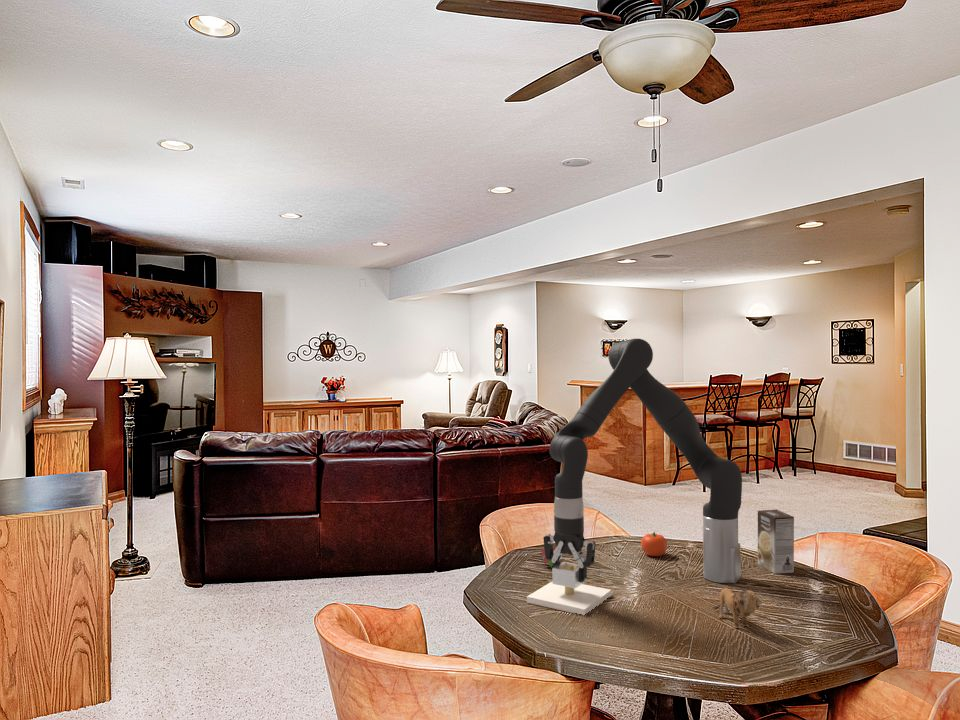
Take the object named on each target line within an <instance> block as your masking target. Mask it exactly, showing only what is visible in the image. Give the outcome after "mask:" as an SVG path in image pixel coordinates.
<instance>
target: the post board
mask: <svg viewBox="0 0 960 720" xmlns="http://www.w3.org/2000/svg"><path fill="white" fill-rule="evenodd" d="M565 569H567V570H572V571H574V565H570V564H567V565H565ZM608 597H609V598H610V597H612V589H609V588H604V587H599V586H594V585H590V584H585V583H583V584H581V585H580V586H578V587H577V588H571V587H566V586H561V585H556V584H553V580H552V581H550V582H549V583H546V584H545V585H544V586H542V587H540V588H538V589H537V590H535V591H534V592H532V593H530V594H529V595H527V596H526V603H528V604H532V605H536V606H541V607H544V608H550V609H554V610H558V611H563V612H567V613H570V614H575V613H577V614H576V615H579V614H582V615H581V616H584V615H585V614H586V613H588V612H589V611H590V612H592V611H593V610H595V607H596V606H597V607H598V606H600V605H601V604H602V603H603V601H604V600H605V601H606V600H608V599H609V598H608ZM607 598H608V599H607ZM605 601H604V602H605ZM600 603H601V604H600ZM599 604H600V605H599ZM597 607H596V608H597ZM592 609H593V610H592ZM591 610H592V611H591ZM590 612H589V613H590ZM589 613H588V614H589ZM586 615H587V614H586ZM586 615H585V616H586Z"/></svg>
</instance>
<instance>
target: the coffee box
mask: <svg viewBox="0 0 960 720" xmlns="http://www.w3.org/2000/svg"><path fill="white" fill-rule="evenodd" d="M794 546H795V517H794V516H793V515H791V514H788V513H787V512H786V513H785V512H783V511H781V510H778V509H764V510H763V509H762V510H757V565H759V566H760V567H762V568H764V569H766V570H767V571H769V572H771V573H773V574H789V573H794V572H795V571H794V570H795V565H794V564H795V561H794V560H795V547H794Z"/></svg>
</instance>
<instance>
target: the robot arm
mask: <svg viewBox="0 0 960 720" xmlns="http://www.w3.org/2000/svg"><path fill="white" fill-rule="evenodd" d="M607 355H608V356H607V357H608V361H609V362H608V363H609V365H610V366H611V369H613V371H612V372H611V373H610V375H608V377H607V378H606V379H605V380H604V381H603V382H602V383H601V384H600V385H599V386H598V387H597V388H596V389H594V390H593V392H591V394H589V396H588V397H587V398H586V399H585V400H584V402H583V403H582V404H581V406H580V408H579V409H578V410H577V412H576V413H575V415H574V416H573V418H572V419H571V420H570V421H568V422H567V423H566V424H565V425H564V426H563V427H562V428H561V429H559V430H558V432H557V433H556V434H555V435H554V436H553V438H552V440H551V441H550V445H549V451H548V452H549V455H550V457H551V458H552V459H553V460H554V461H556V462H559V463H563V467H562V468H563V469H562V472H559V473H557V474H556V475H555V477H554V500H553V501H554V502H553V514H554V515H553V517H554V518H553V520H554V521H553V527H554V528H553V530H554V535H552V534H550V533H549V534H547V535H545V536H543V545H544V546H543V549H545V558H546V559H547V560H548V559H549V560H551V561H552V563H553V567H552V568H554V567H555V566H557V565H559V564H561V563H562V561H561V560H560V558H561V556H562V557H563V555H565V554H567V555H570V556H573V558H574V560H575V561H576V563H577V564H578V565H579V582H581V583H582V582H584V581H585V579H586V580H587V578H588V575H587V574H588V568H589V567H591V566H592V565H594V563H595V557H596V547H597V546H596V542H595V540H591V541H589V540H586V539H585V537H584V536H585V535H584V532H585V518H584V517H585V514H584V513H585V512H584V507H585V506H584V499H583V498H584V497H583V492H584V491H583V479H584V476H585V472H586V468H587V464H588V458H589V452H588V447H587V444H586V442H585V440H584V439H587V438H592V437H593V436H595V434H597V433H598V431H599V430H600V428H601V427H602V425H603V423H604V422H605V421H606V419H607V418H608V416H609V415H610V413H611V412H612V410H614V408H615V407H616V405H617V403H618V402H619V401H620V400H621V398H622V397H623V396H624V394H625V393H627V391H628V390H629V388H630V389H631V391H633V393H634V394H635V395H636V396H637V398H638V399H639V400H640V401H641V403H642V405H643V406H644V407H645V408H646V409H647V411H648V412H649V413H650V414H651V416H652V417H653V419H654V420H655V422H656V423H657V424H658V426H659V427H660V428H661V429H662V431H663V432H664V433H665V434H666V436H667V437H668V438H669V439H670V441H671V442H672V443H673V444H674V446H675V447H676V448H677V449H678V450H679V452H680V453H681V454H682V455H683V456H684V457H685V460H687V463H688V464H689V465H690V467H691V469H692V470H693V472H694V474H695V476H696V477H697V479H698V480H699V482H700V483H701V484H702V485H703V486H704V487H706V488H707V489H709V490H710V494H709V495H710V496H709V501H708V502H706V503H704V504H703V506H702V553H703V554H702V555H703V556H702V559H703V561H702V564H703V565H702V566H703V567H702V570H703V575H702V576H703V577H704V579H705V580H708V581H711V582H714V583H722V584H723V583H724V584H736V583H737V582H738V581H739V580H740V579H741V577H742V575H741V569H742V568H741V543H740V542H739V511H740V509H741V506H742V505H741V504H742V494H743V491H742V490H743V477H742V470H741V469H740V466H739V465H738V464H737V463H736V462H734V461H733V460H729V459H726V458H722V457H720V456H718V455H717V454H716V452H715V451H713V450H712V448H711V447H710V446H709V445H708V444H707V442H706V441H705V440H704V438H703V436H702V433H701V429H700V425H699V423H698V420H697V418H696V415H694V413H693V411H692V410H691V409H690V408H689V406H688V405H687V403H686V401H684V400H683V399H682V398H681V397H680V395H678V394H677V393H676V392H675V391H673V390H671V388H669V387H667V386H666V385H665V384H663V383H662V382H660V381H658V379H656V378H655V377H654V376H653V374H652V373H650V371H649V370H648V368H649V367H650V366H651V364H652V362H653V357H654V351H653V348H652V346H651V344H650V343H649V342H647V341H646V340H645V339H642V338H630V339H625V340H623V341H620V342H619V341H618V342H617V343H614V344H613V345H612V346H611V347H610V348H609V350H608V354H607ZM554 544H556V546H557V548H556V550H555V552H554V553H553V545H554ZM583 547H585V548H584V549H585V550H586V554H585V552H584V549H583ZM585 556H586V557H585ZM559 561H560V562H559ZM584 583H585V582H584Z"/></svg>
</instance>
